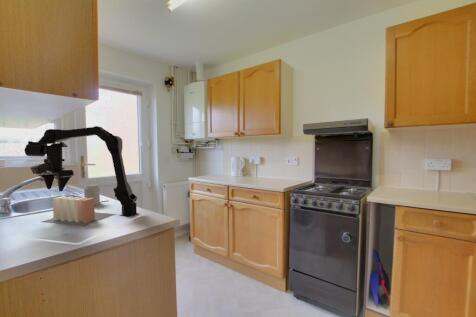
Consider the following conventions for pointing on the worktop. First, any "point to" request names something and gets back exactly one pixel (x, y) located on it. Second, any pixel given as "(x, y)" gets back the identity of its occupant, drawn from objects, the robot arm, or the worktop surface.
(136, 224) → the worktop surface
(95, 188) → the can
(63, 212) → the cream flat block
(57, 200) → the domino
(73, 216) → the domino
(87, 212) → the terracotta domino
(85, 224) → the mat
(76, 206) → the domino
